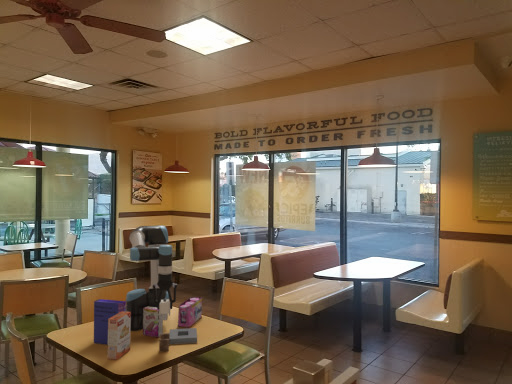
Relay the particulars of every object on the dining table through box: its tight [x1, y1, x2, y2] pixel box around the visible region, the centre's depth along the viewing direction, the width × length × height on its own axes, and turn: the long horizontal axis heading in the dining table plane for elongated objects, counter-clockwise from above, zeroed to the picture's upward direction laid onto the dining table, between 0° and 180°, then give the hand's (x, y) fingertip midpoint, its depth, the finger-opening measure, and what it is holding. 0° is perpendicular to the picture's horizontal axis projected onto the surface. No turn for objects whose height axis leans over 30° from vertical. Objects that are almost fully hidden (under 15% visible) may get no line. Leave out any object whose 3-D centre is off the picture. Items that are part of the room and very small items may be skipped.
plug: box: [160, 299, 170, 321], centre depth 218 cm, size 4×6×11 cm
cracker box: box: [106, 311, 131, 361], centre depth 207 cm, size 14×6×21 cm, turn 170°
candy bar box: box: [142, 306, 164, 338], centre depth 236 cm, size 11×5×16 cm, turn 71°
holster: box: [158, 332, 170, 352], centre depth 217 cm, size 5×10×6 cm, turn 10°
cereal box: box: [93, 298, 126, 346], centre depth 223 cm, size 17×5×24 cm, turn 76°
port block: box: [168, 327, 198, 345], centre depth 231 cm, size 16×16×3 cm
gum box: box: [177, 296, 203, 328], centre depth 261 cm, size 24×8×14 cm, turn 166°
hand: (164, 315), depth 218 cm, fingers closed on plug, 4 cm apart
